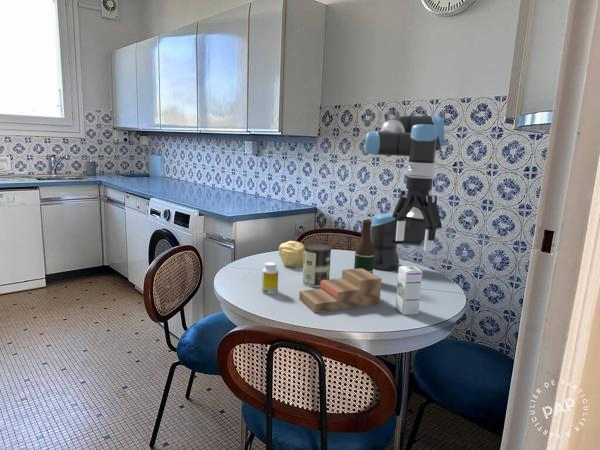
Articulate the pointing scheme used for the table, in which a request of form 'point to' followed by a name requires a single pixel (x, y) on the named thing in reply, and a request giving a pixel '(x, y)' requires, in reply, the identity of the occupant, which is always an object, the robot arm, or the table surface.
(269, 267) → the supplement bottle
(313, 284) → the coffee can
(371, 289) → the stepped stand
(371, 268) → the beer bottle
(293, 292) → the table surface
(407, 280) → the syrup box
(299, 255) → the sculpture
